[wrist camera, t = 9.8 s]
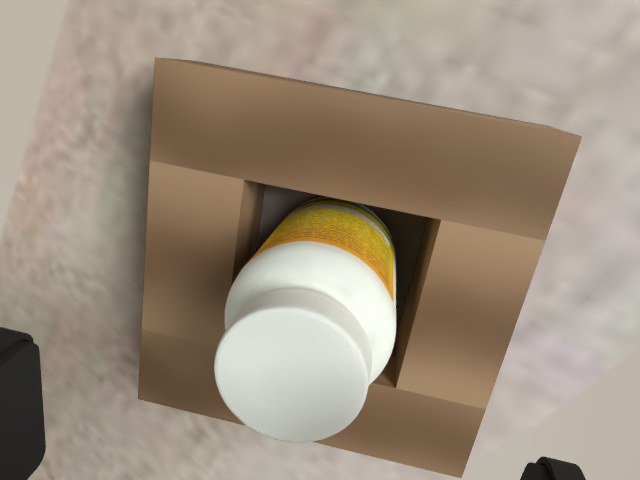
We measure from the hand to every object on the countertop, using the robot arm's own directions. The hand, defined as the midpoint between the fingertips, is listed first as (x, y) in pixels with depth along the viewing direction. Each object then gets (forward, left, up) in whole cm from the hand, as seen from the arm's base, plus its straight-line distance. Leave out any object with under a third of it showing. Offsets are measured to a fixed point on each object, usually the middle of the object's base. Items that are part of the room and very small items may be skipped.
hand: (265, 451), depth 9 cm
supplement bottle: (+1, 0, -13) cm, 13 cm away
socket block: (+1, 0, -13) cm, 13 cm away
